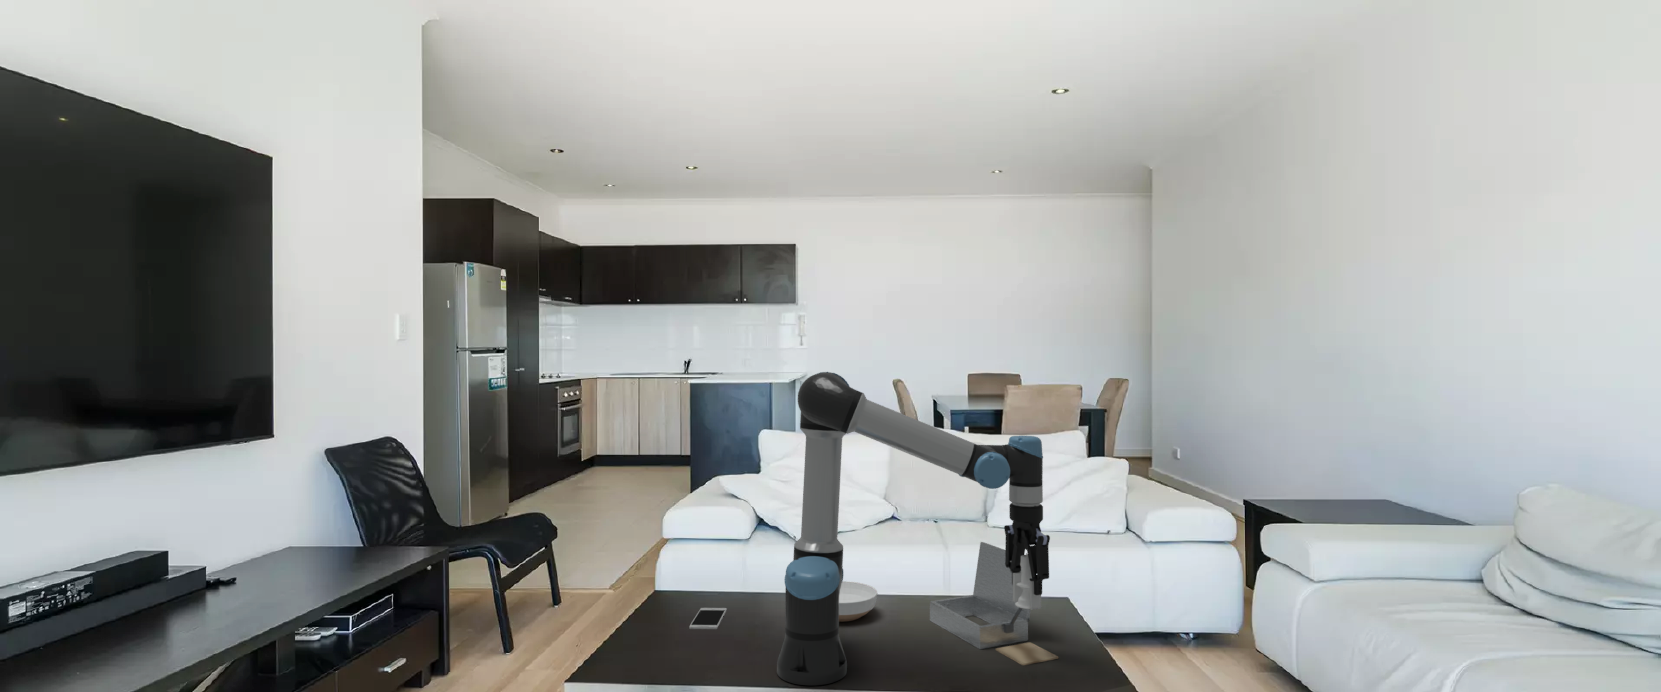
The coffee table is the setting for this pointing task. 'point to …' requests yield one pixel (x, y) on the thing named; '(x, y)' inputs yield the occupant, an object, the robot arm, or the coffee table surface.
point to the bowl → (855, 600)
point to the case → (985, 606)
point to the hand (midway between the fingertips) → (1026, 604)
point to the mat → (1026, 653)
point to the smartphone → (708, 618)
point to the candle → (1024, 583)
